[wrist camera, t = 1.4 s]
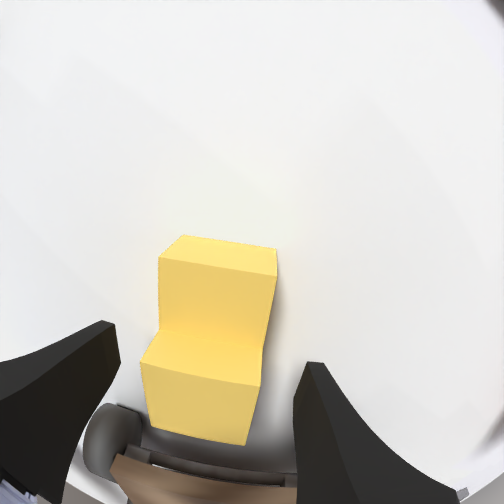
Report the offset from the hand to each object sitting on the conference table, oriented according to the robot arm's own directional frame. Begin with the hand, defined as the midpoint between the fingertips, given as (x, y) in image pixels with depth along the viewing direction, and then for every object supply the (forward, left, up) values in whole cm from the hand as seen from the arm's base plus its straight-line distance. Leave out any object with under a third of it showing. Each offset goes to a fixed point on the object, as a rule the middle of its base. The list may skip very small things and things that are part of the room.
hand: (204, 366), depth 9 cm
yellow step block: (0, 0, -4) cm, 4 cm away
